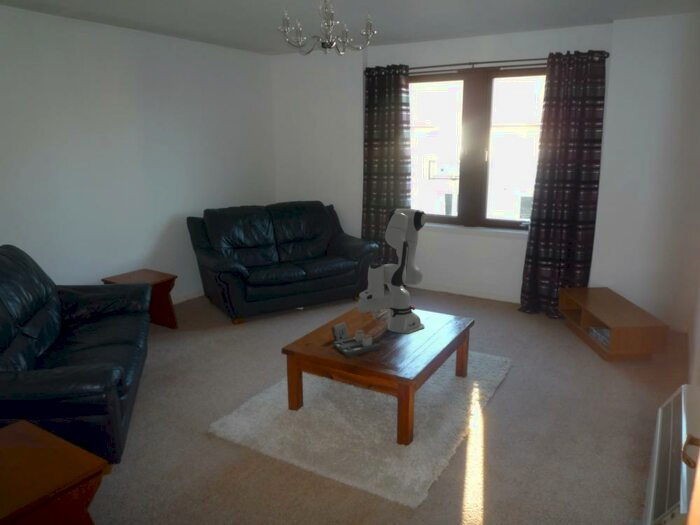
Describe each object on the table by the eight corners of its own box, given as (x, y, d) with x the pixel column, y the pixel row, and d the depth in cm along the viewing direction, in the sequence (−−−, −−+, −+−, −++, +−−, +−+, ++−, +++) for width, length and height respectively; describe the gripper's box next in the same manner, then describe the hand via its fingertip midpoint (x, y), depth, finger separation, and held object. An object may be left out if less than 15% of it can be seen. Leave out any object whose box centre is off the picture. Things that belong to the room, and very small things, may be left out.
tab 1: (361, 338, 287) (361, 329, 286) (364, 340, 284) (364, 331, 283) (355, 340, 285) (355, 330, 284) (357, 342, 282) (357, 332, 281)
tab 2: (368, 343, 280) (368, 334, 279) (371, 345, 278) (372, 336, 276) (362, 345, 278) (362, 335, 277) (365, 347, 276) (365, 337, 274)
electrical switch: (338, 342, 286) (337, 326, 285) (331, 341, 290) (330, 325, 288) (348, 338, 293) (347, 322, 292) (341, 336, 297) (340, 321, 295)
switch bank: (365, 339, 291) (365, 334, 291) (380, 349, 278) (380, 344, 277) (333, 346, 282) (333, 341, 281) (348, 356, 268) (348, 351, 268)
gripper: (388, 288, 281) (388, 312, 285) (356, 294, 272) (356, 319, 275) (395, 291, 276) (394, 316, 280) (362, 297, 266) (362, 322, 270)
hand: (375, 317), depth 277 cm, fingers closed
